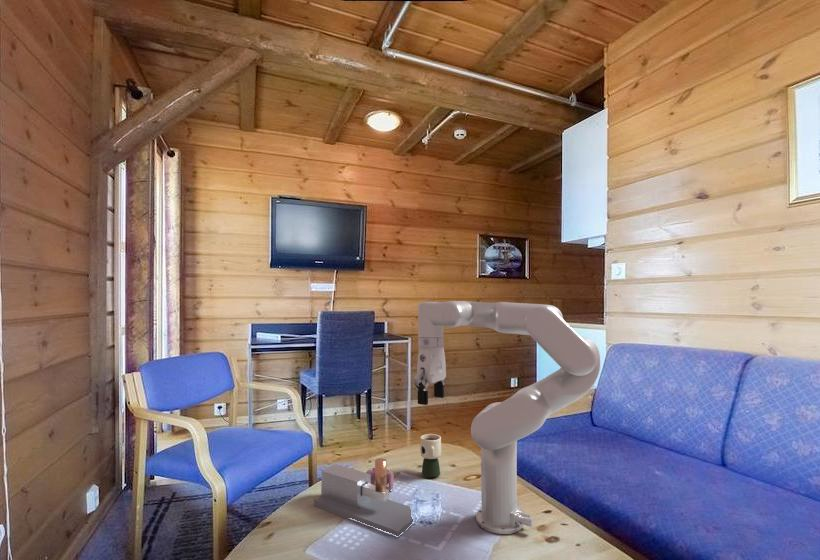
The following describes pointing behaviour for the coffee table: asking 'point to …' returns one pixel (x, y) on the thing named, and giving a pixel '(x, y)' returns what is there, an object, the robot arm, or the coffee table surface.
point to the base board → (372, 513)
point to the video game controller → (388, 477)
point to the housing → (344, 485)
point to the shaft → (377, 483)
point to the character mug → (430, 454)
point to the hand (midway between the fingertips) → (431, 400)
